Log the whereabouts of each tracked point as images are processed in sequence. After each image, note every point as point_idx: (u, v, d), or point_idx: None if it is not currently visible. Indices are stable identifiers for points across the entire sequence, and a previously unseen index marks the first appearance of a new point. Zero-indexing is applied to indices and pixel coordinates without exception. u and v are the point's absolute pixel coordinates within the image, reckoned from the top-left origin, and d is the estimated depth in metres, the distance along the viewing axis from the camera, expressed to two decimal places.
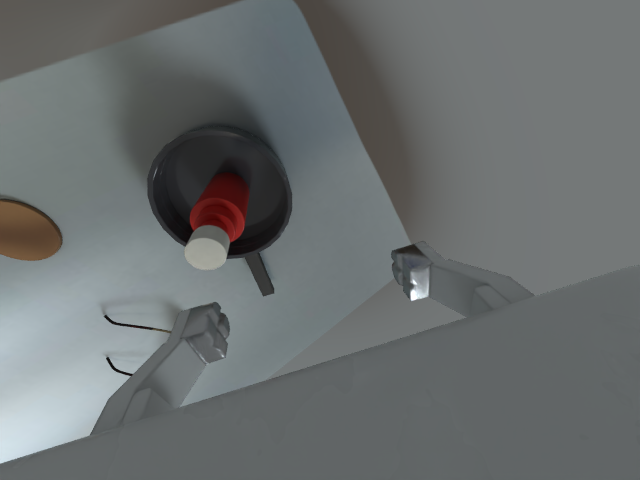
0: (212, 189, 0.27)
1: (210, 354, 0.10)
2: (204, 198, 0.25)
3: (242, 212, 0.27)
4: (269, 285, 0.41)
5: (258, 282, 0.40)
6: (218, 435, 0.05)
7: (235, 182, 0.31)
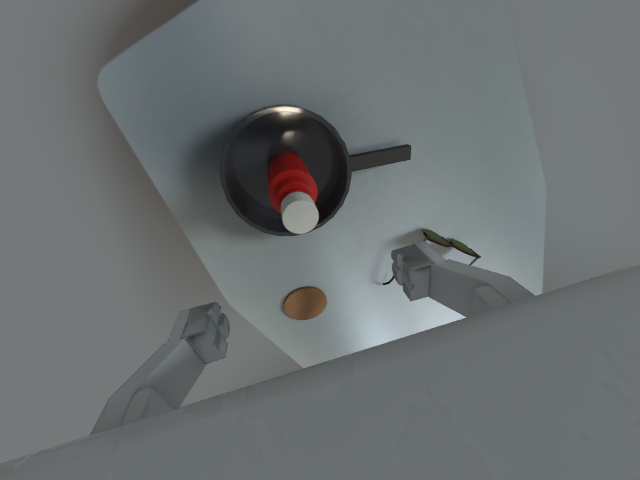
0: None
1: (210, 354, 0.10)
2: (270, 200, 0.28)
3: (286, 169, 0.27)
4: (398, 149, 0.34)
5: (389, 161, 0.35)
6: (218, 435, 0.05)
7: (271, 165, 0.32)
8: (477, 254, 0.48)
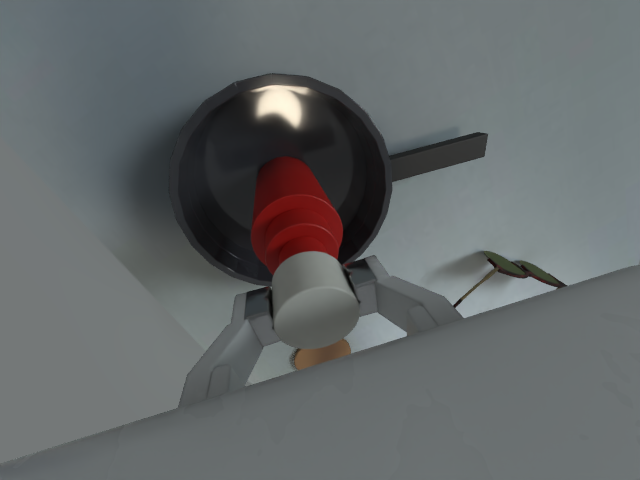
0: None
1: (268, 336, 0.10)
2: None
3: (282, 194, 0.14)
4: (467, 142, 0.21)
5: (451, 162, 0.22)
6: (218, 435, 0.05)
7: (258, 182, 0.19)
8: (562, 283, 0.34)
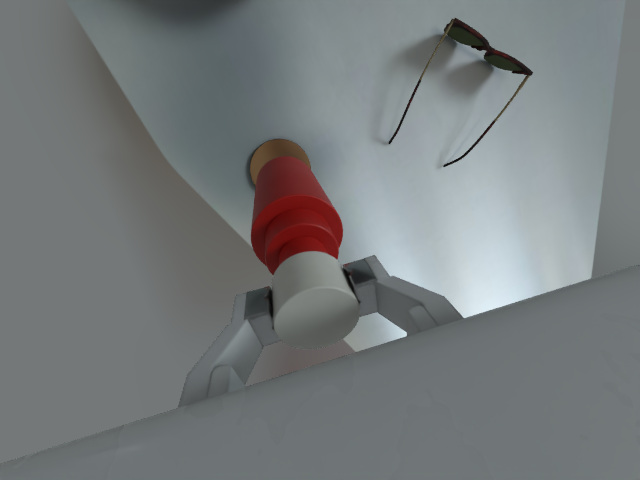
0: None
1: (268, 336, 0.10)
2: None
3: (282, 194, 0.14)
4: None
5: None
6: (218, 435, 0.05)
7: (258, 182, 0.19)
8: None
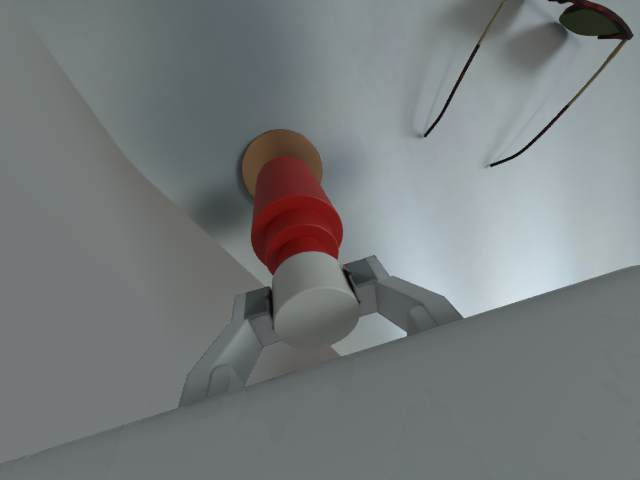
0: None
1: (268, 336, 0.10)
2: None
3: (282, 194, 0.14)
4: None
5: None
6: (218, 435, 0.05)
7: (258, 182, 0.19)
8: None
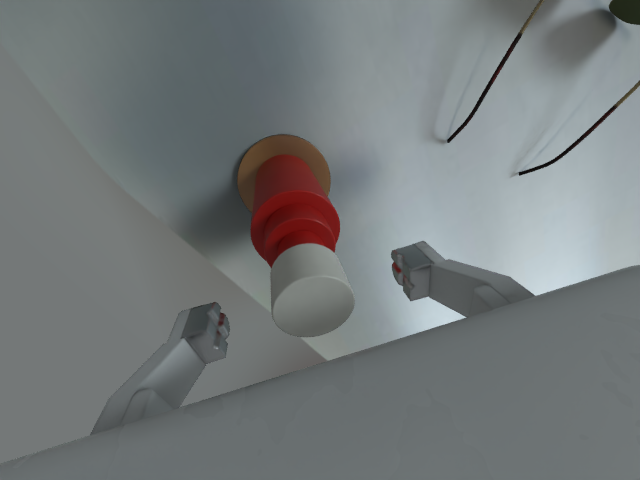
0: None
1: (210, 354, 0.10)
2: None
3: (281, 190, 0.14)
4: None
5: None
6: (218, 435, 0.05)
7: (258, 179, 0.20)
8: None
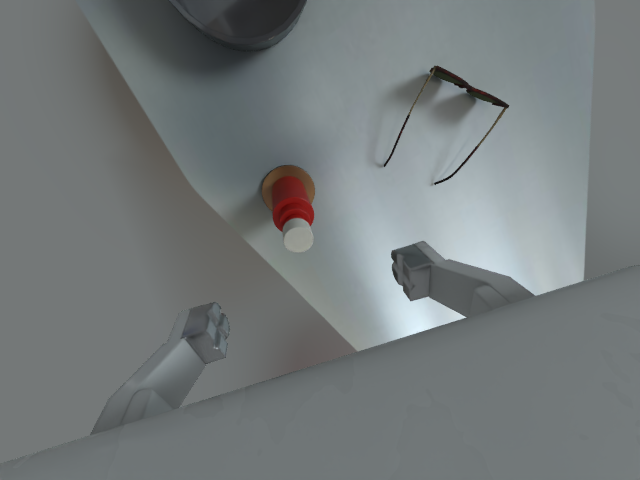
0: None
1: (210, 354, 0.10)
2: None
3: (286, 197, 0.32)
4: None
5: None
6: (218, 435, 0.05)
7: (274, 190, 0.37)
8: None
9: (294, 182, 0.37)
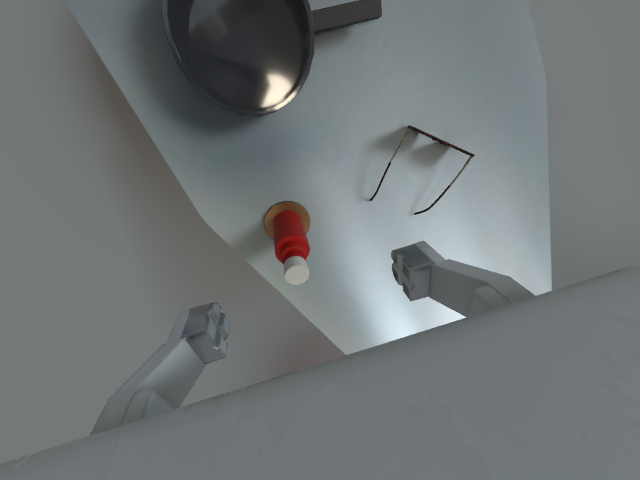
0: None
1: (210, 354, 0.10)
2: (276, 255, 0.39)
3: (286, 235, 0.38)
4: (366, 1, 0.31)
5: (358, 18, 0.31)
6: (218, 435, 0.05)
7: (275, 225, 0.43)
8: (470, 153, 0.44)
9: (292, 218, 0.43)
